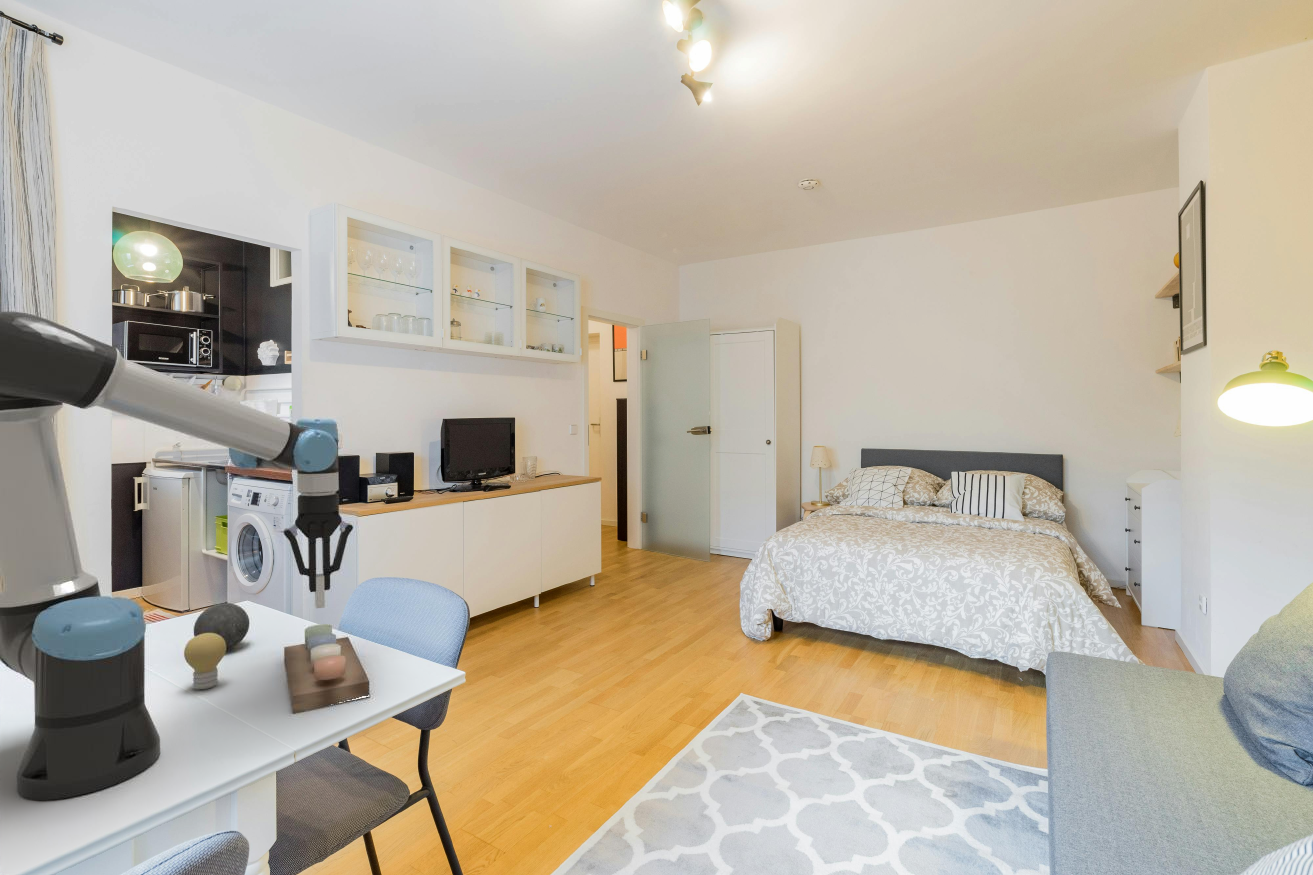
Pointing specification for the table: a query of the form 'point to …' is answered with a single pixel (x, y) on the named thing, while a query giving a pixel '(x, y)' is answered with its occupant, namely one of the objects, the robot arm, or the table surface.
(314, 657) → the cream button
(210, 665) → the light bulb
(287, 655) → the button board
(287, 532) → the robot arm
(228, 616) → the decorative ball
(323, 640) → the slate button
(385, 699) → the table surface
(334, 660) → the terracotta button
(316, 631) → the sage button
